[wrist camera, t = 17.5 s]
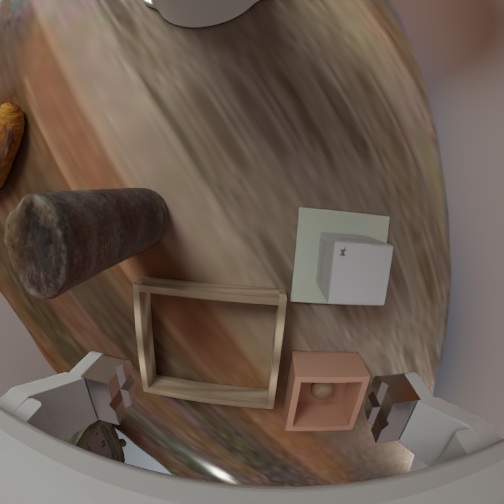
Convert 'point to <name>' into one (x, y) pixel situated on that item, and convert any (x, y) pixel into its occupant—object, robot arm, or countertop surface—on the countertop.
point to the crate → (194, 388)
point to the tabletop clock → (99, 440)
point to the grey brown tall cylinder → (79, 234)
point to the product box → (353, 269)
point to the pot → (334, 408)
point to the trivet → (309, 242)
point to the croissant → (9, 136)
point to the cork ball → (322, 390)
